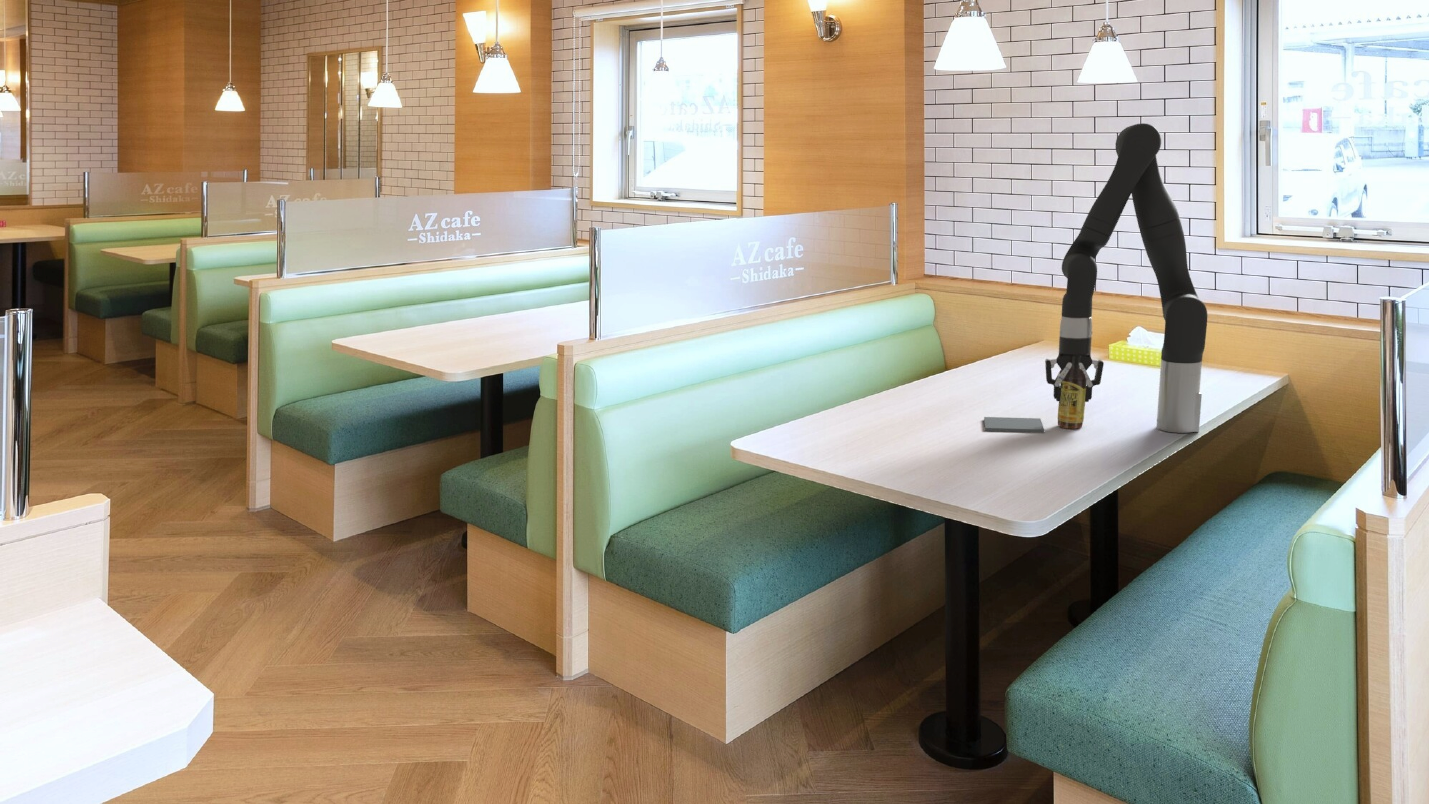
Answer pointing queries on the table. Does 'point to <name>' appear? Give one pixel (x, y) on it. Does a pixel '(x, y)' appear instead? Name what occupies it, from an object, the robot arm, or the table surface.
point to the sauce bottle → (1072, 396)
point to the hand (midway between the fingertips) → (1072, 400)
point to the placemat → (1013, 424)
